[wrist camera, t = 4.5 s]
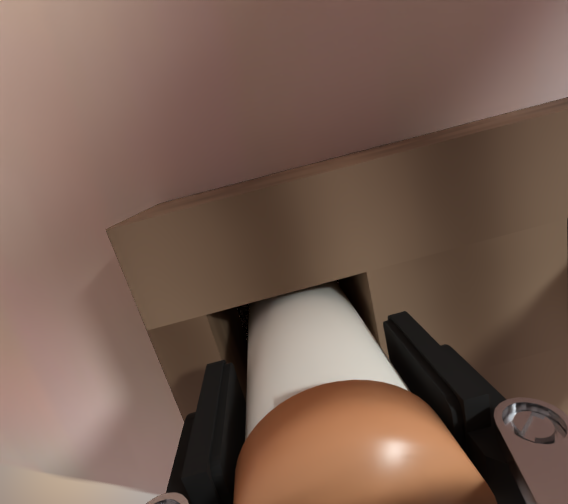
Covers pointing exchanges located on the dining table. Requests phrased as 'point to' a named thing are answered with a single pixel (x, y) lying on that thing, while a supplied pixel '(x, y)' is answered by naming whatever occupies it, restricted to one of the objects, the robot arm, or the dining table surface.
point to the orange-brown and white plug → (339, 415)
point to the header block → (376, 252)
